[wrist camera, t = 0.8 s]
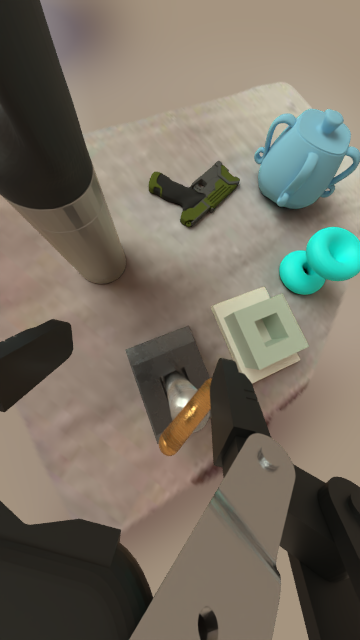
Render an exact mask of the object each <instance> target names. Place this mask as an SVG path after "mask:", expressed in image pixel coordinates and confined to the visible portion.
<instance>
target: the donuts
mask: <svg viewBox="0 0 360 640" xmlns="http://www.w3.org/2000/svg"><path fill="white" fill-rule="evenodd" d="M303 267H304V268H305V269H306V271H307V273H308V275H307V274H306V273H305V272H304V270H303ZM279 272H280V277H281V280H282V282H283V283H284V285H285V286H286V287H287V288H288V289H289V290H291V291H292V292H294V293H297V294H302V295H307V294H312V293H315V292H316V291H318V290H319V289H320V288H321V287H322V286H323V285H324V283H325V280H326V279H327V280H331V281H344V280H348V279H350V278H352V277H354V276H355V275H357V274H358V273H359V272H360V241H359V239H358V238H357V237H356V236H355V235H354V234H352V233H351V232H349V231H348V230H346V229H343V228H339V227H328V228H324V229H322V230H320V231H318V232H316V233H315V234H314V235H313V236H312V237H311V238H310V240H309V242H308V244H307V248H306V251H303V250H299V251H294V252H292V253H290V254H288V255H287V256H286V257H285V258H284V259H283V260H282V262H281V264H280V269H279Z"/></svg>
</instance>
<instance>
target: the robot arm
mask: <svg viewBox="0 0 360 640" xmlns="http://www.w3.org/2000/svg"><path fill="white" fill-rule="evenodd" d="M0 194H1V195H2V196H3V197H4V198H5V199H6V200H7V201H8V202H9V203H10V204H11V205H12V206H13V207H14V208H15V209H16V210H17V211H18V212H19V213H20V214H21V215H22V216H23V217H24V218H25V219H26V220H27V221H28V222H29V223H30V224H31V225H32V226H33V227H34V228H35V229H36V230H37V231H38V232H39V233H40V234H41V235H42V236H43V237H44V238H45V239H46V240H47V241H48V242H49V243H50V244H51V245H52V246H53V247H54V248H55V249H56V250H57V251H58V252H59V253H60V254H61V255H62V256H63V257H64V258H65V259H66V260H67V261H68V262H69V263H70V264H71V265H72V266H73V267H74V268H75V269H76V270H77V271H78V272H79V273H80V274H81V275H82V276H83V277H84V278H85V279H87V280H88V281H90V282H93V283H97V284H105V283H110V282H112V281H114V280H116V279H117V278H119V277H120V276H121V275H122V273H123V272H124V270H125V267H126V257H125V254H124V251H123V249H122V246H121V243H120V240H119V237H118V234H117V231H116V229H115V226H114V223H113V220H112V217H111V215H110V212H109V209H108V206H107V203H106V201H105V198H104V195H103V192H102V189H101V187H100V184H99V181H98V178H97V176H96V173H95V170H94V167H93V164H92V162H91V159H90V156H89V153H88V151H87V148H86V145H85V141H84V138H83V135H82V131H81V128H80V124H79V121H78V118H77V114H76V111H75V108H74V105H73V102H72V98H71V95H70V93H69V89H68V86H67V83H66V81H65V78H64V75H63V72H62V69H61V66H60V63H59V60H58V56H57V53H56V50H55V47H54V44H53V41H52V38H51V35H50V31H49V28H48V25H47V22H46V19H45V16H44V12H43V9H42V6H41V3H40V0H0ZM72 351H73V340H72V330H71V325H70V323H68V322H64V321H59V320H55V319H52V320H49V321H47V322H45V323H43V324H41V325H39V326H37V327H34V328H31V329H27V330H25V331H23V332H20V333H18V334H16V335H15V336H14V337H13V336H12V337H10V338H8V339H6V340H5V341H2V342H0V411H2V412H6V411H7V410H8V409H9V408H10V407H11V406H13V405H14V404H15V403H16V402H17V401H19V400H20V399H21V398H22V397H23V396H24V395H26V394H27V393H28V392H29V391H30V390H32V389H33V388H34V387H35V386H36V385H37V384H39V383H40V382H41V381H42V380H43V379H45V378H46V377H47V376H48V375H49V374H50V373H52V372H53V371H54V370H55V369H56V368H57V367H59V366H60V365H61V364H62V363H63V362H65V361H66V360H67V359H68V358H69V357H70V355H71V354H72ZM254 392H255V391H254V389H253V386H252V383H251V381H250V380H249V379H248V378H247V376H246V375H245V374H244V373H240V372H239V371H238V368H237V364H236V362H235V361H232V360H228V359H224V358H220V359H219V361H218V363H217V366H216V369H215V372H214V375H213V377H212V380H211V385H210V406H211V424H212V443H213V462H214V465H215V466H219V467H223V476H224V479H223V481H222V483H221V484H220V486H219V487H218V489H217V491H216V492H215V494H214V496H213V498H212V499H211V501H210V503H209V504H208V506H207V508H206V510H205V511H204V513H203V515H202V516H201V518H200V520H199V522H198V523H197V525H196V526H195V528H194V530H193V531H192V533H191V535H190V537H189V538H188V540H187V542H186V544H185V545H184V547H183V548H182V550H181V552H180V554H179V555H178V557H177V559H176V560H175V562H174V564H173V566H172V567H171V569H170V571H169V572H168V574H167V576H166V577H165V579H164V581H163V582H162V584H161V586H160V587H159V589H158V591H157V593H156V594H155V596H154V598H153V596H152V593H151V590H150V587H149V584H148V582H147V580H146V578H145V575H144V573H143V571H142V569H141V567H140V566H139V564H138V562H137V561H136V559H135V558H134V557H133V556H132V554H131V553H130V552H129V551H128V549H127V548H125V547H124V546H123V545H122V544H121V543H120V533H121V530H120V529H116V528H112V527H109V526H105V525H101V524H97V523H93V522H90V521H86V520H82V519H74V520H66V521H59V522H51V523H43V524H34V525H27V524H25V523H23V522H22V521H21V520H20V519H19V518H18V517H17V516H16V515H14V513H13V512H12V511H10V510H9V509H8V508H7V507H6V506H5V505H4V504H3V503H2V502H1V501H0V640H272V636H273V631H274V626H275V621H276V615H277V610H278V605H279V599H280V590H281V578H280V574H279V572H278V570H277V568H276V559H277V553H278V549H279V546H281V547H282V548H283V549H285V550H286V551H287V552H288V556H289V560H290V564H291V568H292V572H293V576H294V580H295V585H296V589H297V593H298V597H299V601H300V605H301V609H302V613H303V617H304V621H305V625H306V629H307V634H308V638H309V640H360V487H358V486H357V485H356V484H354V483H352V482H351V481H349V480H347V479H344V478H342V477H333V478H331V479H330V480H329V481H328V482H327V483H325V482H323V481H321V480H319V479H318V478H316V477H314V476H312V475H311V474H309V473H307V472H305V471H304V470H302V469H300V468H299V467H297V466H295V465H294V464H293V463H292V461H291V459H290V457H289V456H288V454H287V453H286V451H285V450H284V449H283V448H282V447H281V445H280V444H278V443H277V442H276V441H275V440H273V439H272V438H271V436H270V433H269V430H268V428H267V425H266V422H265V419H264V416H263V414H262V411H261V408H260V405H259V402H257V397H256V394H255V393H254Z"/></svg>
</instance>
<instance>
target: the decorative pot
mask: <svg viewBox="0 0 360 640" xmlns="http://www.w3.org/2000/svg"><path fill="white" fill-rule="evenodd" d="M343 121H344V120H343V117H342V115H341V114H340V113H339V112H337V111H333V110H331V109H328V110H326V111H325V112H323V111H320V110H316V109H308V110H306V111H304V112H303V113H302V114H301V115H299V116H298V117H297V118H295V117H294V116H293V115H292V114H282V115H280V116H279V117H277V118H276V119H275V120H274V121H273V123H272V124H271V126H270V128H269V131H268V134H267V138H266V143H265V148H264V147H260V148H259V149H258V150H257V151H256V153H255V156H254V159H255V162H256V163H257V164H261V166H260V169H259V175H258V183H259V188H260V190H261V191H262V194H263V195H264V196H266V197H268V198H269V199H271V200H272V201H274V202H275V203H277V204H278V206H280V207H283V206H284V207H287V208H289V209H299V208H303V207H306V206H309V205H311V204H313V203H314V202H315V201H316V200H317V199H318V198H319V197H328V196H330V195H331V194H332V193H333V192H334V190H335V186H334V184H336V183H337V182H339V181H341V180H342V179H344V178H345V177H347V176H348V175H350V174H351V173H352V172H353V171H354V170H355V169H356V168H357V166H358V164H359V162H360V152H359V150H358V149H357V148H355V147H348V146H349V143H350V137H351V134H350V131H349V129H348V128H347V126H346V125H345V124H343ZM280 123H286V124H288V125H289V126H288V127H287V128H286V129H285V130H284V131H283V132H282V133H281V134H280V136H279V137H278V138H277V139H276V140H275V142H274V143H273V145H272V146H271V147H270V144H271V139H272V135H273V132H274V130H275V128H276V126H277V125H278V124H280ZM269 148H270V149H269ZM260 152H262V153H263V156H262V157H261V156H260V155H259V153H260ZM345 155H347V156H350V157H351V158H352V159H353V164H352V165H351V166H350V167H349V168H348V169H347V170H345V171H344V172H342V173H341V174H339V175H338V176H336V177H335V178H334V176H335V174H336V172H337V170H338V168H339V166H340V164H341V162H342V160H343V158H344V156H345ZM327 188H328V189H330V191H325V190H326V189H327Z"/></svg>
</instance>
